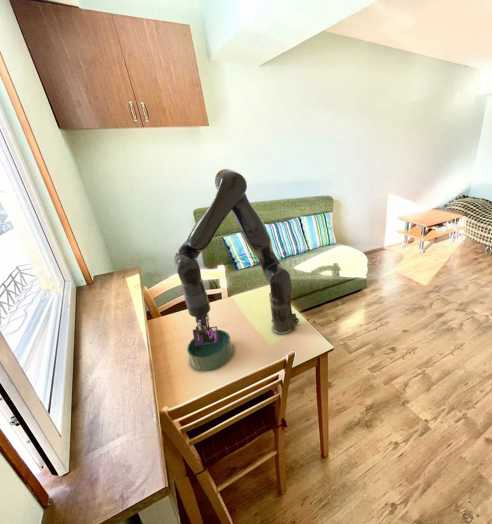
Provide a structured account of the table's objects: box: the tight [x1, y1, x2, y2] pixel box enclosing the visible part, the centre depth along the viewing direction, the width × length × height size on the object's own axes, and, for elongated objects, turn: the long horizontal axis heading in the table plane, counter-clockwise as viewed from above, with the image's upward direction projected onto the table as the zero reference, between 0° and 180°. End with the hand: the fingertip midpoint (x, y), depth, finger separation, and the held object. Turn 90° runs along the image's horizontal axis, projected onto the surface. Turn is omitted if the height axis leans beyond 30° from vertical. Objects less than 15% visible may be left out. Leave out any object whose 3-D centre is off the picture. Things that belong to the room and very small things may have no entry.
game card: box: [192, 326, 219, 346], centre depth 112 cm, size 7×5×9 cm
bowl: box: [186, 329, 234, 372], centre depth 116 cm, size 16×16×7 cm
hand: (207, 335), depth 112 cm, fingers closed on game card, 4 cm apart
